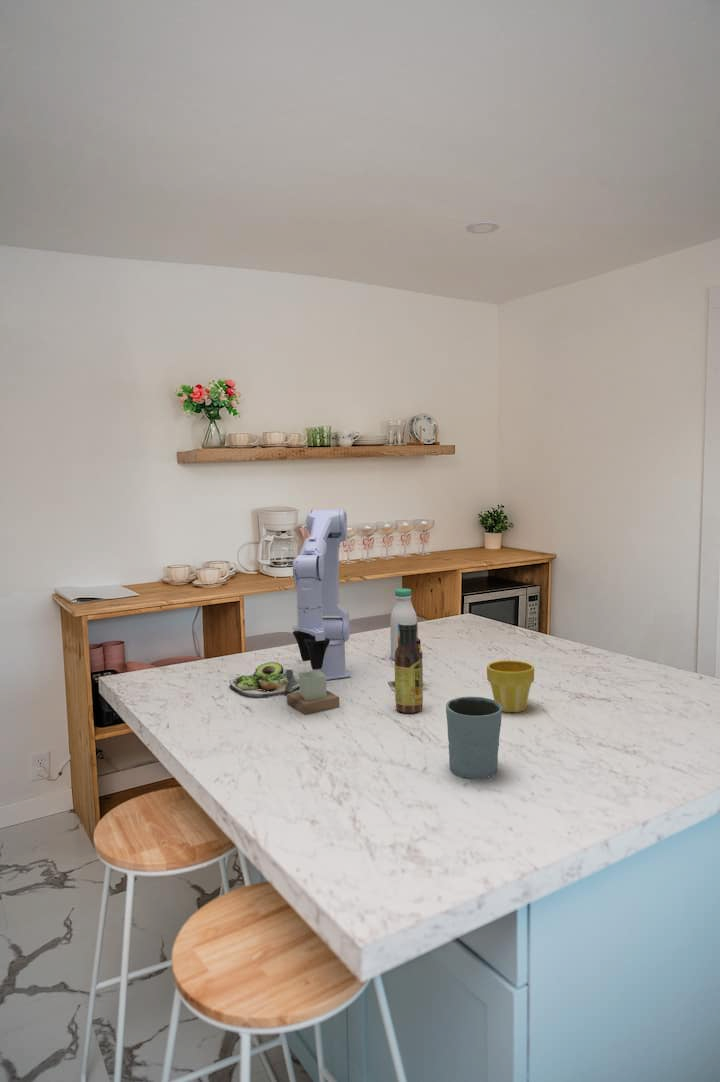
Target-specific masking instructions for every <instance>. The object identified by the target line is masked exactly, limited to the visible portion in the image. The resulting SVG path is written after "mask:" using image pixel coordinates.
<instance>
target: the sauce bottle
mask: <svg viewBox="0 0 720 1082" xmlns="http://www.w3.org/2000/svg"><path fill="white" fill-rule="evenodd" d="M417 626H418V624H417V625H416V623H415V622H401V623H399V631H400V640H399V641H400V644H399V646H398V647H397V649H396V651H395V660H394V681H395V691H394V696H395V697H394V698H395V699H394V701H395V709H396V710H397V711H398V712H400V713H403V714H413V713H418V712H420V711H421V710H422V709H423V701H424V698H423V697H424V695H423V691H424V689H423V684H424V682H423V681H424V680H423V681H422V669H423V668H422V666H423V655H422V656H421V653H420V651H419V648H418V645H417V642H416V641H417V640H416V629H417Z"/></svg>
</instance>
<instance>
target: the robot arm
mask: <svg viewBox="0 0 720 1082" xmlns="http://www.w3.org/2000/svg"><path fill="white" fill-rule="evenodd" d="M347 515H348V514H347V511H346V510H345V509H344V508H341V509H309V510H308V511H307V514H306V519H305V523H306V530H307V532H308V534H309V537H307V538H306V539H305V540H304V542H303V544H302V547H301V550H300V553H299V554H298V555H297V556H296V557H295V556H294V557H293V559H292V575H293V579H294V580H293V581H294V587H295V588H296V607H297V608H296V609H297V621H296V622H297V625H296V626H293V627H292V630H293V631H292V634H293V637H294V638H295V640H296V643H297V646H298V649H299V653H300V657H301V660H302V662H309V661H310V666H311V668H312V669H311V672H312V671H321V672H322V673H323V674H324V675H325V676H326V681H329V680H335V679H342V678H343V679H344V678H349V677H352V674H351V673H350V672H348V671H346V642H347V641H349V639H350V636H351V621H350V613H349V612H348V610H346V609H345V608H344V607H343V606H342V605H340V601H339V600H340V591H339V590H340V587H339V586H340V585H339V584H340V582H339V581H340V576H339V575H340V574H339V572H340V557H339V556H340V547H341V543H343V542H345V541H346V540H347V536H348V518H347V517H348V516H347Z"/></svg>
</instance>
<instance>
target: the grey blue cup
mask: <svg viewBox="0 0 720 1082" xmlns="http://www.w3.org/2000/svg"><path fill="white" fill-rule="evenodd" d="M445 710H446V711H445V713H446V716H445V717H446V723H447V725H446V726H447V739H448V754H449V757H448V758H449V759H448V760H449V761H448V762H449V769H450V771H451V773H453V774H454V775H456V776H458V777H460V776H461V778H464V777H466V778H465V779H470V778H482V779H484V778H483V777H487V778H489V777H488V776H490V777H492V776H494V775H495V774H496V773H497V772H498V762H499V755H498V754H499V746H500V735H501V734H500V733H501V726H502V716H503V711H502V706H501V705H500V704H499V703H498V702H496V701H494V700H493V699H492V698H491V699H490V698H488V697H483V696H482V697H481V696H461V697H456V698H452V699H450V700H448V701H447V702H446V704H445ZM496 771H497V772H496ZM493 774H494V775H493ZM491 775H492V776H491Z"/></svg>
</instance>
